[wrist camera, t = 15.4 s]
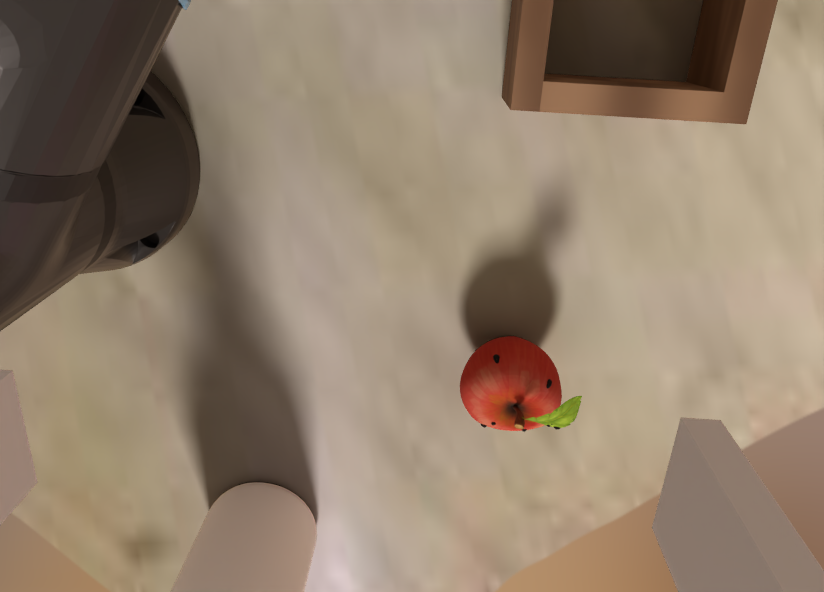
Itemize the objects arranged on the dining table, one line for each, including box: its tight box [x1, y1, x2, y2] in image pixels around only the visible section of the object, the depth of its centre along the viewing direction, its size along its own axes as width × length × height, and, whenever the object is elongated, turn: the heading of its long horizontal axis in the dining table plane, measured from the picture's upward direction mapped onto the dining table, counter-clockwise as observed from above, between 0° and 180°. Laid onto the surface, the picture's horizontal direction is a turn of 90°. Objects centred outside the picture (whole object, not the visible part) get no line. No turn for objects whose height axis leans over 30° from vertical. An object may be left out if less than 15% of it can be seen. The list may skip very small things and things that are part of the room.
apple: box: [460, 336, 582, 431], centre depth 44 cm, size 8×7×10 cm
